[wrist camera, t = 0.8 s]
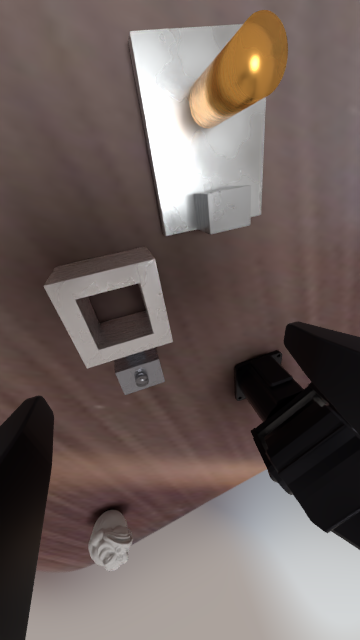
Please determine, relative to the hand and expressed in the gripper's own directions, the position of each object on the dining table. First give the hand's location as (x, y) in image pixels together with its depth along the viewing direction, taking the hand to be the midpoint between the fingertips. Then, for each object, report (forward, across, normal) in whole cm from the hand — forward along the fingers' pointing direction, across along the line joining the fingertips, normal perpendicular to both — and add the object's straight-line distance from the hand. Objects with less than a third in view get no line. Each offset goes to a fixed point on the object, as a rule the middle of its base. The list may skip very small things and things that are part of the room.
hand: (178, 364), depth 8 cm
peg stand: (+12, -6, -7) cm, 16 cm away
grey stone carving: (+13, +13, +38) cm, 42 cm away
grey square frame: (+12, +2, +2) cm, 13 cm away
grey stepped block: (+12, +2, +8) cm, 15 cm away
